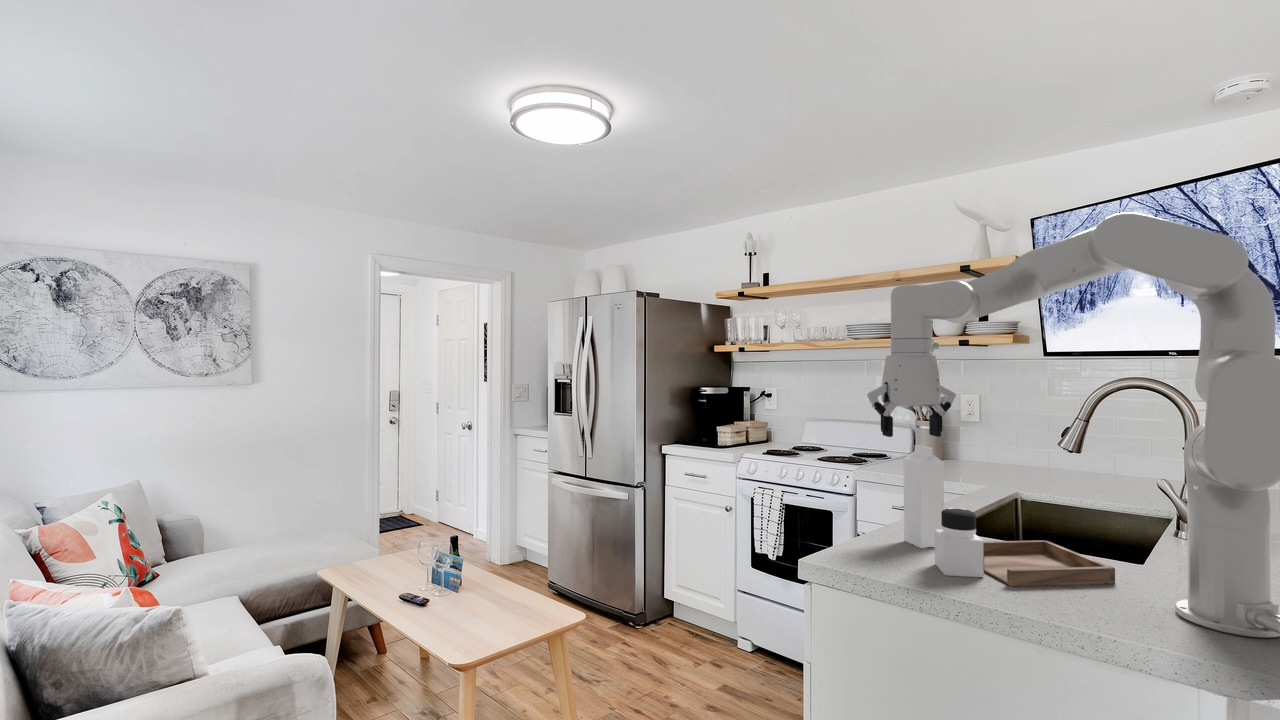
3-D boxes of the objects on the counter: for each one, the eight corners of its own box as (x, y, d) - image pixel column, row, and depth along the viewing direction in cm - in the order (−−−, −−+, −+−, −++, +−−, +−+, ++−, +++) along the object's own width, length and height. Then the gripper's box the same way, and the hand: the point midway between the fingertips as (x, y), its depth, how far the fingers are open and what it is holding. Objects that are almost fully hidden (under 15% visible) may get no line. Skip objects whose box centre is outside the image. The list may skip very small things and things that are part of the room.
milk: (926, 539, 144) (926, 444, 144) (944, 547, 138) (944, 447, 138) (903, 541, 143) (903, 444, 143) (920, 548, 137) (920, 448, 137)
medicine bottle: (984, 578, 118) (984, 515, 118) (944, 576, 120) (943, 513, 120) (972, 566, 125) (972, 506, 125) (934, 564, 127) (934, 505, 127)
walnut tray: (1115, 583, 115) (1115, 568, 115) (1010, 586, 114) (1010, 570, 114) (1045, 553, 133) (1045, 540, 133) (954, 556, 132) (954, 542, 132)
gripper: (944, 348, 127) (944, 433, 127) (860, 348, 126) (860, 434, 126) (965, 348, 119) (965, 438, 119) (876, 348, 118) (876, 438, 118)
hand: (911, 435), depth 122 cm, fingers open, 9 cm apart
